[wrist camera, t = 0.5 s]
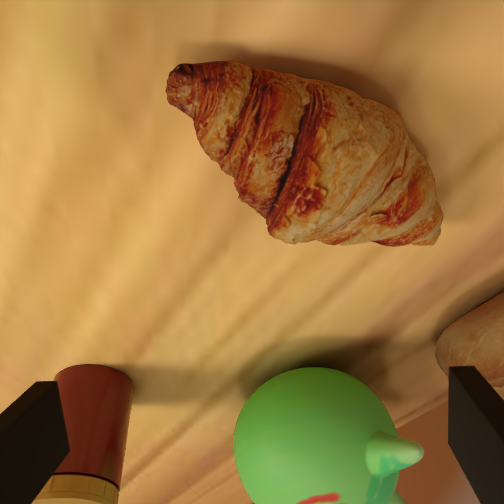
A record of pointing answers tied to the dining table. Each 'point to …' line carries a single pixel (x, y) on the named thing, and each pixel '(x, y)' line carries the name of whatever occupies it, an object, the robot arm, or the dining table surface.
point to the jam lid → (77, 491)
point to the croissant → (310, 155)
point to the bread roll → (476, 343)
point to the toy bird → (319, 442)
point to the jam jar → (95, 420)
